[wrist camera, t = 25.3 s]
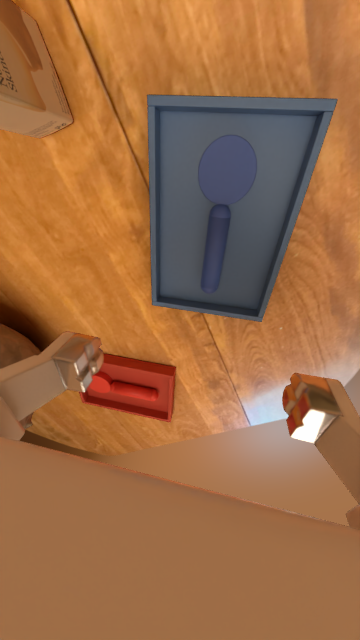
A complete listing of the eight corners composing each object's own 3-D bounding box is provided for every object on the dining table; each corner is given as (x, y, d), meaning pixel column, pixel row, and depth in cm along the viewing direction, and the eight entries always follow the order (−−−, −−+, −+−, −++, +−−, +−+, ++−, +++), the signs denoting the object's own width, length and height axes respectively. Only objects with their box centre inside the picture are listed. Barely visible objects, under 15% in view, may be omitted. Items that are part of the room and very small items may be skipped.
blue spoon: (229, 291, 25) (229, 299, 23) (189, 286, 25) (186, 293, 24) (262, 138, 17) (266, 134, 15) (202, 135, 17) (200, 131, 16)
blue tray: (259, 313, 26) (261, 322, 24) (156, 297, 28) (151, 305, 26) (327, 106, 16) (338, 98, 14) (154, 102, 17) (146, 94, 16)
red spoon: (160, 383, 37) (156, 392, 35) (159, 399, 39) (156, 409, 38) (87, 368, 38) (80, 376, 37) (91, 385, 41) (86, 393, 39)
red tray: (172, 413, 42) (170, 422, 40) (87, 394, 44) (82, 402, 43) (175, 367, 34) (173, 376, 33) (73, 347, 37) (66, 355, 35)
